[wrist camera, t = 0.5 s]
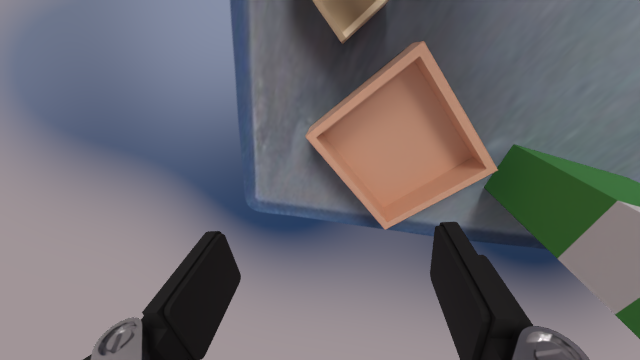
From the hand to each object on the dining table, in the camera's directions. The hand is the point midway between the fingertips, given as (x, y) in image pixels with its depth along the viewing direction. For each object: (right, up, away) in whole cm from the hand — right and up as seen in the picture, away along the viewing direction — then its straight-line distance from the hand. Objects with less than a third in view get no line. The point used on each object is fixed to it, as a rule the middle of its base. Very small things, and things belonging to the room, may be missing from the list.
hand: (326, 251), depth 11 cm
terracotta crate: (+11, +9, +25) cm, 29 cm away
